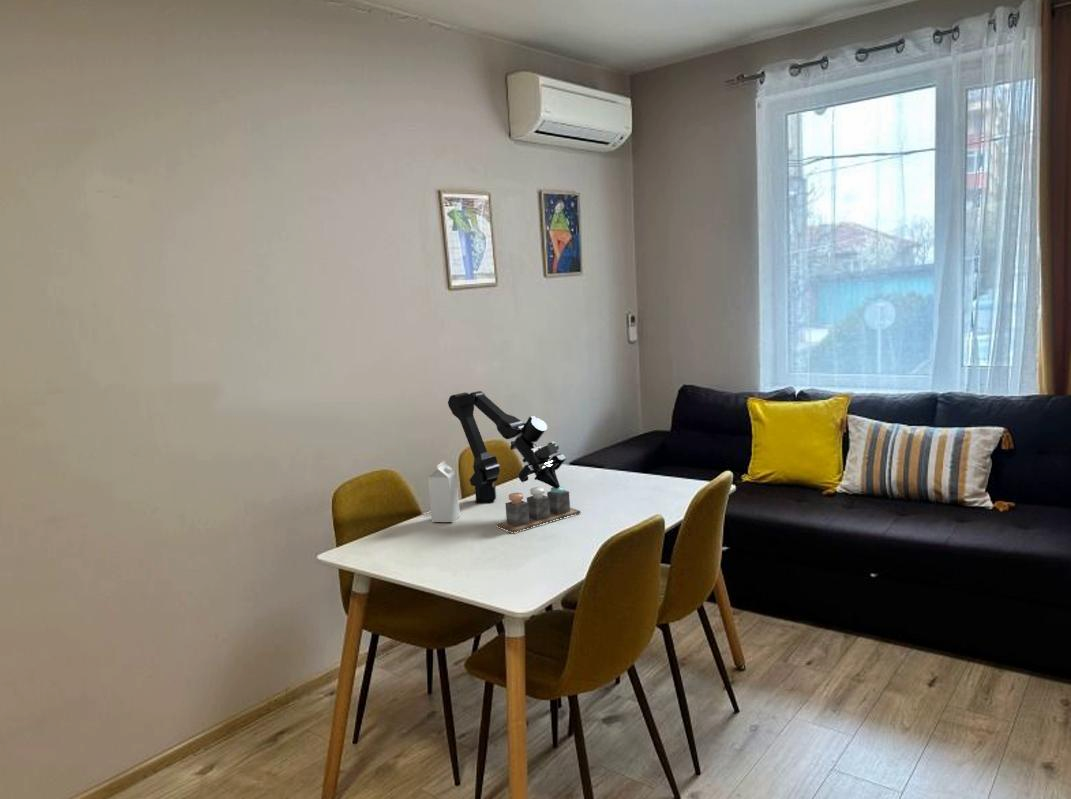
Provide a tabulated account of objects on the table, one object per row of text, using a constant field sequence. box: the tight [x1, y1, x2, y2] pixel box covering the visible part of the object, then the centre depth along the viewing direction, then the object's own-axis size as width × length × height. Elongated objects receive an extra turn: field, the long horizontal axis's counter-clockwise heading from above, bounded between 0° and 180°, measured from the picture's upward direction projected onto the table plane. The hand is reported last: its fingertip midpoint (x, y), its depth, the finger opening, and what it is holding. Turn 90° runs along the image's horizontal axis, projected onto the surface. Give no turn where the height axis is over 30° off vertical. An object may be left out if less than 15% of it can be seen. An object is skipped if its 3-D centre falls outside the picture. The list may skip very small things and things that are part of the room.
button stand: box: [496, 490, 581, 534], centre depth 226 cm, size 26×9×8 cm, turn 126°
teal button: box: [550, 485, 566, 494], centre depth 230 cm, size 4×4×4 cm
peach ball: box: [508, 492, 524, 505], centre depth 221 cm, size 4×4×4 cm
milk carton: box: [427, 459, 461, 523], centre depth 232 cm, size 7×7×19 cm
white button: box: [529, 486, 545, 499], centre depth 225 cm, size 4×4×4 cm
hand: (558, 487), depth 229 cm, fingers closed, pressing on teal button
